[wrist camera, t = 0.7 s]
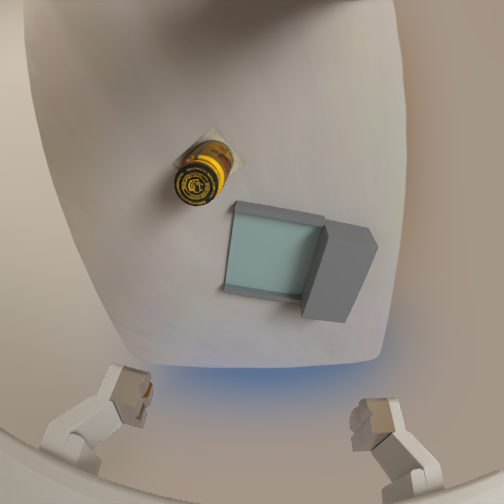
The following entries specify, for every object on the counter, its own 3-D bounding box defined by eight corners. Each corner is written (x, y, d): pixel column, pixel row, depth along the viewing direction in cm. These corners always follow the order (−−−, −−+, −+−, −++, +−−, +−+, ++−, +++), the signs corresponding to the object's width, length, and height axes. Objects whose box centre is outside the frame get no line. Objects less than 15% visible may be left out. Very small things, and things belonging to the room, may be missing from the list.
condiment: (245, 163, 44) (236, 191, 34) (204, 195, 47) (184, 231, 37) (213, 126, 41) (193, 142, 31) (173, 162, 44) (143, 189, 34)
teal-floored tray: (236, 200, 47) (231, 217, 42) (369, 225, 48) (379, 243, 43) (225, 285, 56) (220, 307, 51) (339, 303, 57) (343, 325, 52)
